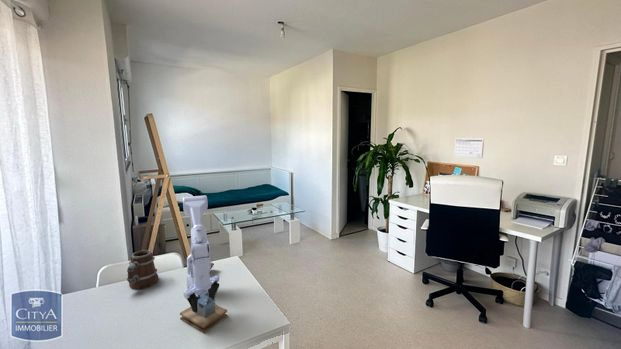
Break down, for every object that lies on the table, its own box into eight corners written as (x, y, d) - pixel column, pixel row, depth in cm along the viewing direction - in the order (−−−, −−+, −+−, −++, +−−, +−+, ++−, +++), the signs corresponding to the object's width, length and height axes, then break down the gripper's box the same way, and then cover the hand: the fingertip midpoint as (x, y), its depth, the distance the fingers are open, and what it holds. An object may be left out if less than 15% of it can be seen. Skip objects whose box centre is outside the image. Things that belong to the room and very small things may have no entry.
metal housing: (205, 318, 104) (204, 304, 103) (191, 311, 108) (191, 297, 107) (215, 311, 108) (214, 298, 107) (202, 304, 112) (201, 292, 111)
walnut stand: (180, 319, 107) (179, 312, 107) (204, 304, 117) (204, 298, 116) (203, 333, 100) (203, 326, 100) (227, 316, 109) (227, 309, 109)
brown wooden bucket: (140, 276, 140) (137, 247, 138) (163, 277, 139) (161, 248, 137) (116, 294, 124) (113, 262, 122) (143, 295, 124) (140, 263, 122)
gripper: (191, 285, 98) (193, 320, 99) (224, 268, 110) (225, 300, 112) (179, 279, 101) (181, 313, 103) (212, 263, 113) (213, 294, 115)
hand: (203, 306), depth 108 cm, fingers open, 7 cm apart
